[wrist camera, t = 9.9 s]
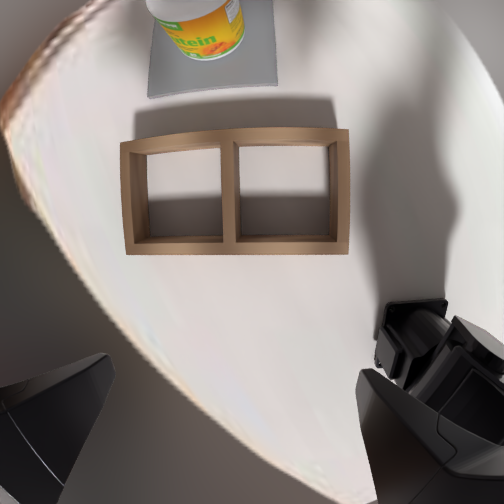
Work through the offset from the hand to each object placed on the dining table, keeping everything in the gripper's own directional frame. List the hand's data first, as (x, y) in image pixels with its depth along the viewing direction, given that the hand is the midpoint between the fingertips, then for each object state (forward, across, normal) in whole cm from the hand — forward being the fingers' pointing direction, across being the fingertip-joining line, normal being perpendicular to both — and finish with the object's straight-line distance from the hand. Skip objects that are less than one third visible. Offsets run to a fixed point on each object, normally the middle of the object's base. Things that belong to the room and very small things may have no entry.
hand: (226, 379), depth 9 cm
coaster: (+13, +3, -19) cm, 23 cm away
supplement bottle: (+12, +3, -19) cm, 23 cm away
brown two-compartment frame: (+13, +2, -6) cm, 14 cm away
